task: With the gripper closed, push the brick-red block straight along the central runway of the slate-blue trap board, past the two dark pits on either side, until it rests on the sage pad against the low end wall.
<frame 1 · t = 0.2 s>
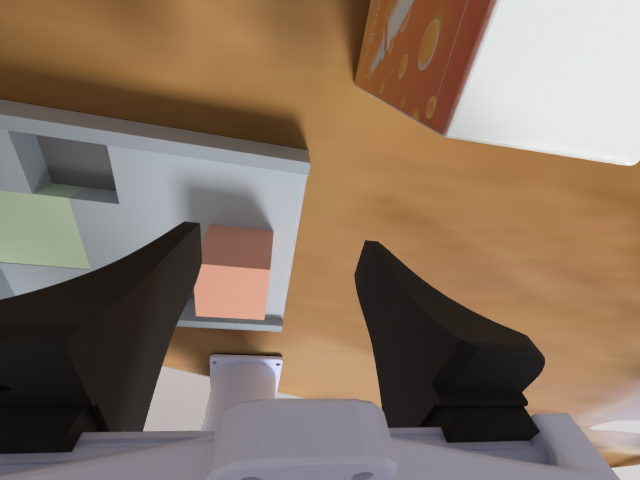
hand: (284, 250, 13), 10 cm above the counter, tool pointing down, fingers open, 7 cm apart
block: (241, 252, 22), point 2 cm above the counter, touching trap board
small box: (416, 17, 16), on the counter
trap board: (153, 228, 22), on the counter
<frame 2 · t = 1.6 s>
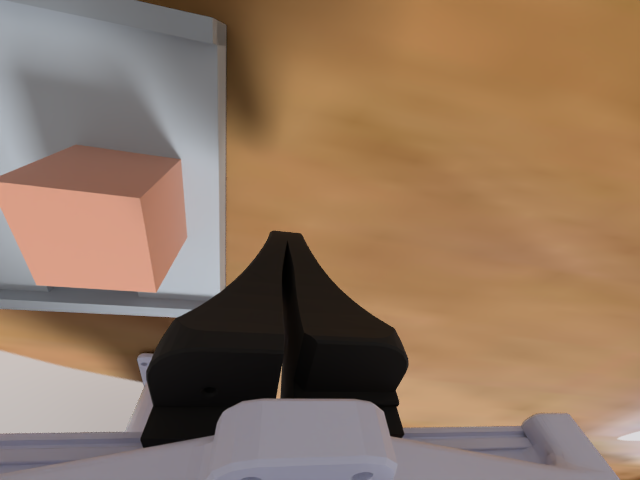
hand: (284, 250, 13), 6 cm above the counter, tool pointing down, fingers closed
block: (137, 195, 14), point 2 cm above the counter, touching trap board
trap board: (9, 163, 15), on the counter
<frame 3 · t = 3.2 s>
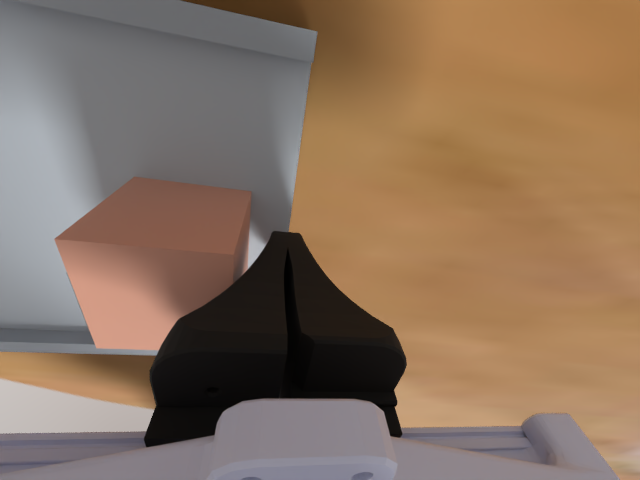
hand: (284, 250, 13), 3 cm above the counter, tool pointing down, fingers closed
block: (197, 231, 13), point 2 cm above the counter, touching gripper, trap board
trap board: (50, 193, 13), on the counter
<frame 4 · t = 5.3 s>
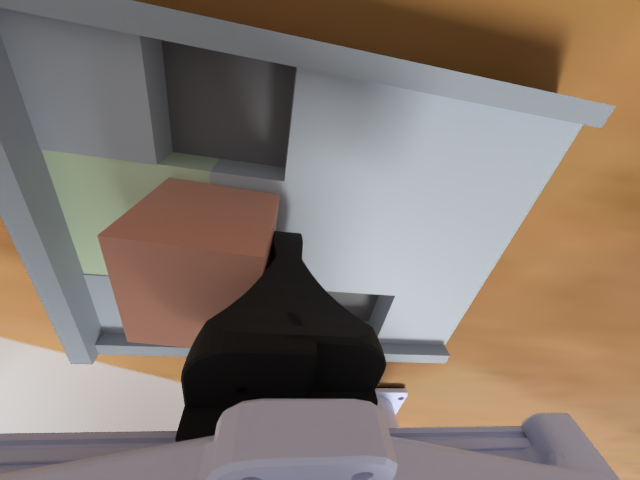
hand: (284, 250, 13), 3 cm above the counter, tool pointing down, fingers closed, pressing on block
block: (225, 232, 13), point 2 cm above the counter, touching gripper, trap board
trap board: (297, 222, 15), on the counter
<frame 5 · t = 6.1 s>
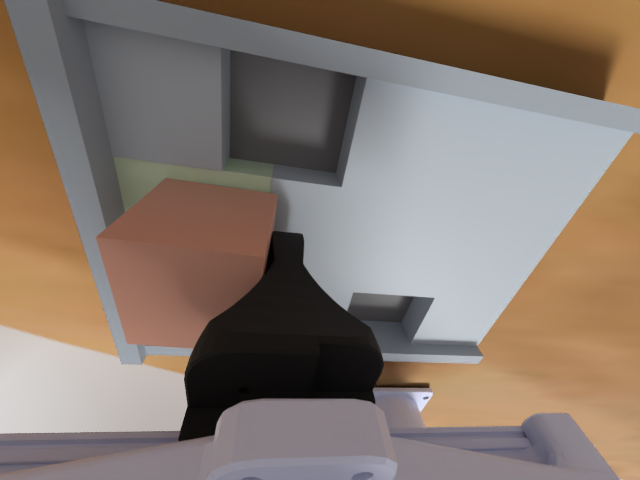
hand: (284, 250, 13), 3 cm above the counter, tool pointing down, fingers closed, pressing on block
block: (223, 232, 13), point 2 cm above the counter, touching gripper, trap board
trap board: (341, 226, 16), on the counter
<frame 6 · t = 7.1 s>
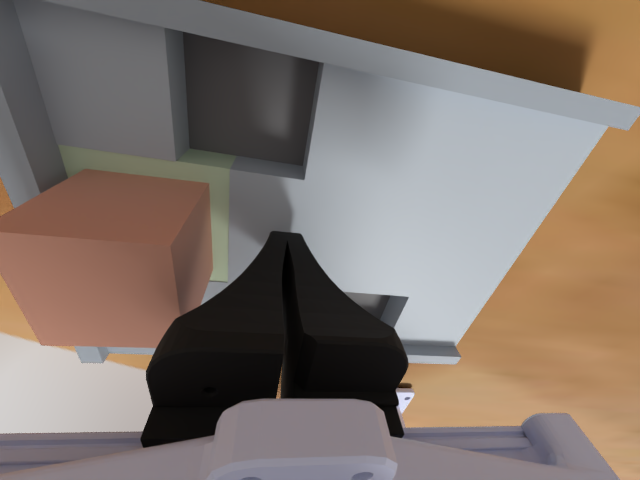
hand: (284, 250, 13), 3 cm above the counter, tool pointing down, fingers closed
block: (157, 225, 12), point 2 cm above the counter, touching trap board
trap board: (312, 221, 15), on the counter
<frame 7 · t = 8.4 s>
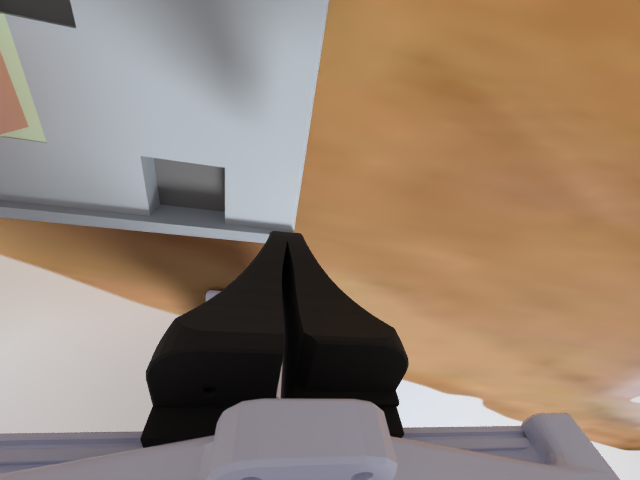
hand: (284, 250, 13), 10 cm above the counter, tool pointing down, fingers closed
trap board: (129, 95, 17), on the counter
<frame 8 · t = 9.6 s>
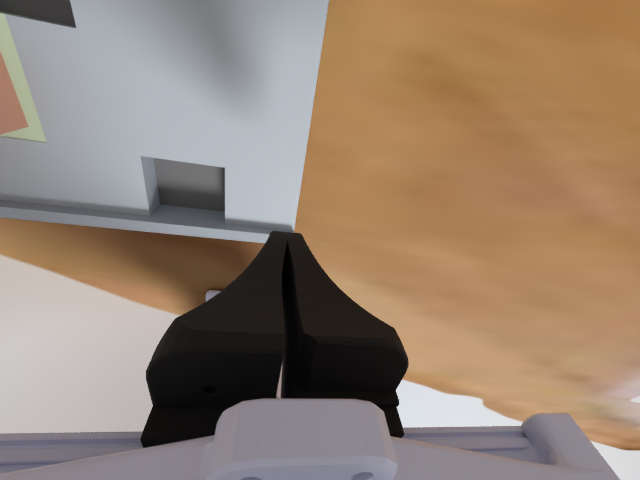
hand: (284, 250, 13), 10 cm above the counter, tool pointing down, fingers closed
trap board: (129, 95, 17), on the counter
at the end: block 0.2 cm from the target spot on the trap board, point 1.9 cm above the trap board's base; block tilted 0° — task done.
